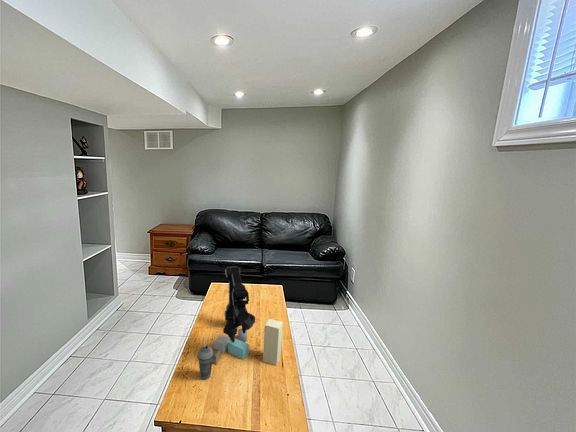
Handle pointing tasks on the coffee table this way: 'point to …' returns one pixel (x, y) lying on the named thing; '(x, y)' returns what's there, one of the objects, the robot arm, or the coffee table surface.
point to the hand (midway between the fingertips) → (238, 337)
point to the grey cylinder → (242, 335)
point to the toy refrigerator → (272, 341)
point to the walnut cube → (216, 356)
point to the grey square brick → (221, 343)
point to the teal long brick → (238, 348)
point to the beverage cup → (205, 361)
